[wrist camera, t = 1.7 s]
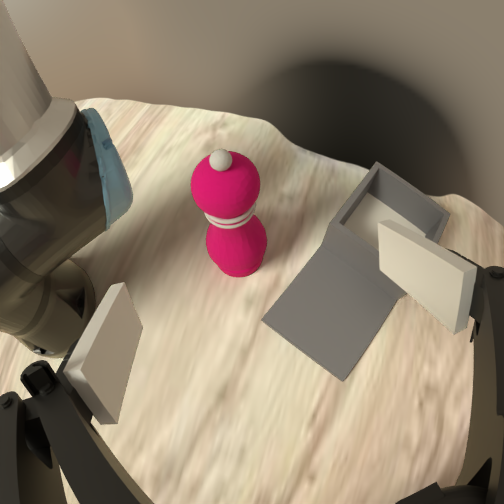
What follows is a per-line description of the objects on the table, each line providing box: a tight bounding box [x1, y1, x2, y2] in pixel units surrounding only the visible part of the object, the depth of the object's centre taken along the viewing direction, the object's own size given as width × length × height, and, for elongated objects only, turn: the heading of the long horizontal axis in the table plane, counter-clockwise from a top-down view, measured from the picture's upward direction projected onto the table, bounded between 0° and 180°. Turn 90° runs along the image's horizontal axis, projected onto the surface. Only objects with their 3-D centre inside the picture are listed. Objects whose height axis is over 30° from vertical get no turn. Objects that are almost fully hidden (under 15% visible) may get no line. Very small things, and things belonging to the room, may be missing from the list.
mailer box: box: [261, 162, 450, 381], centre depth 36 cm, size 13×25×7 cm, turn 140°
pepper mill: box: [191, 149, 267, 277], centre depth 32 cm, size 7×7×20 cm
